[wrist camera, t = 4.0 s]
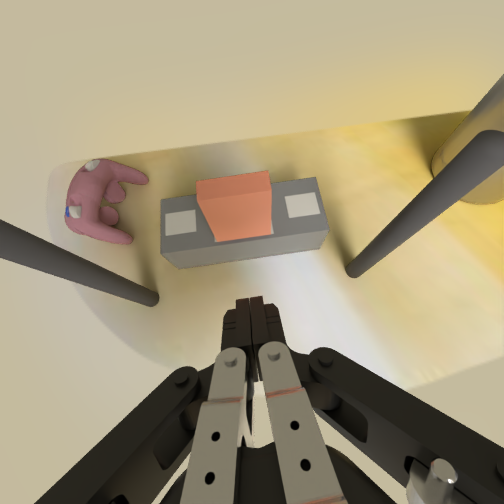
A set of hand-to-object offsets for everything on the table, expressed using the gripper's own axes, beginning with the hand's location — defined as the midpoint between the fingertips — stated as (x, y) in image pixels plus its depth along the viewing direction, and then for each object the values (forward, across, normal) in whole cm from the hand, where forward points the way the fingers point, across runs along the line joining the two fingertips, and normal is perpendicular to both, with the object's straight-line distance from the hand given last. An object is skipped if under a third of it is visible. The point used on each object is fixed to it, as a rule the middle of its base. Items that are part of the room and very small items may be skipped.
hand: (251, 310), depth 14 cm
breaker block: (+16, 0, +1) cm, 16 cm away
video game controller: (+20, +15, -3) cm, 26 cm away
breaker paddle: (+11, 0, -1) cm, 11 cm away
